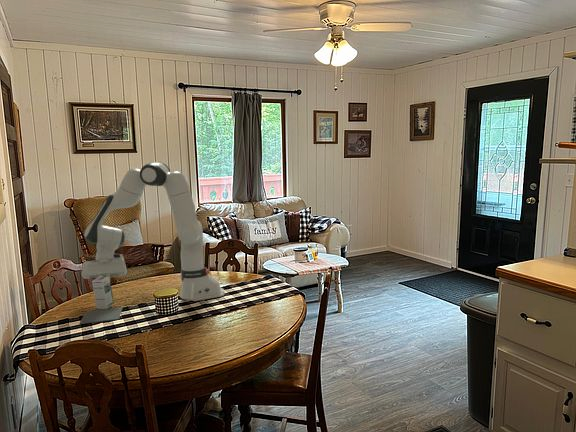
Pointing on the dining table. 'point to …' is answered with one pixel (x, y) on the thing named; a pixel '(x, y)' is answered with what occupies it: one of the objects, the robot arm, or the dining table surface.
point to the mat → (101, 315)
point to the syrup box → (103, 292)
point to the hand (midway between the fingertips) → (104, 283)
